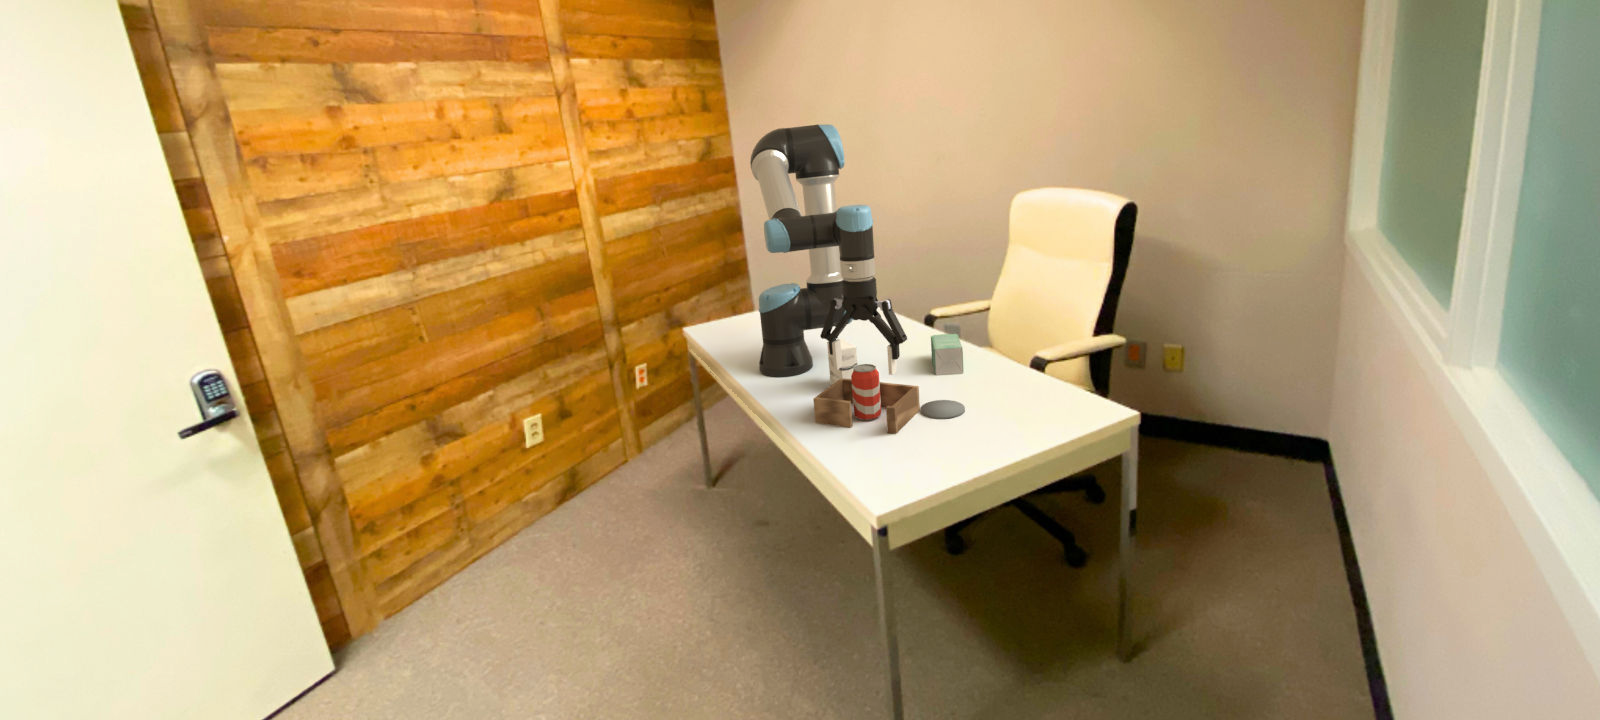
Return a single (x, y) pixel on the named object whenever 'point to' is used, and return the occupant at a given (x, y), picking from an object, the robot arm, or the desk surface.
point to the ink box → (843, 362)
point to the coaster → (942, 409)
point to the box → (947, 354)
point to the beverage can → (866, 392)
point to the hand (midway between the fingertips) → (865, 370)
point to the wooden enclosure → (894, 397)
